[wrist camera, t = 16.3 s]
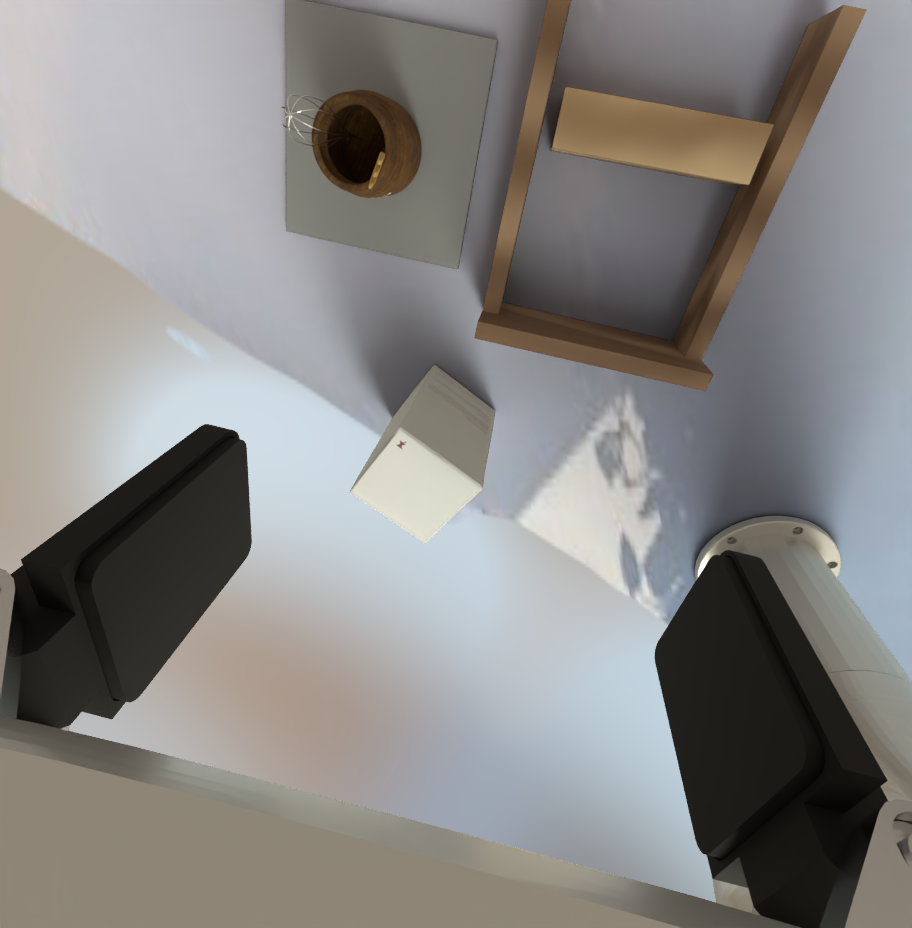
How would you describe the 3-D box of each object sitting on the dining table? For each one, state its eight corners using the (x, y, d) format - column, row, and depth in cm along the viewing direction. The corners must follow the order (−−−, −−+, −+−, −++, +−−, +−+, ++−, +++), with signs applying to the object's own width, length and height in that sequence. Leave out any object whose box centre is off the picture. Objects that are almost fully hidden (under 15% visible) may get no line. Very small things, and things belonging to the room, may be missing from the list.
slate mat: (458, 268, 39) (457, 269, 38) (289, 230, 39) (286, 231, 39) (497, 41, 31) (497, 39, 31) (289, -2, 32) (285, -4, 32)
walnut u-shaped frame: (681, 358, 40) (705, 391, 34) (484, 313, 40) (474, 338, 34) (828, 28, 29) (902, -9, 23) (556, -26, 29) (559, -76, 24)
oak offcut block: (722, 183, 34) (749, 184, 29) (551, 150, 34) (552, 147, 30) (743, 131, 32) (774, 124, 28) (562, 98, 33) (565, 86, 28)
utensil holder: (361, 78, 33) (279, 37, 23) (442, 130, 34) (398, 112, 24) (331, 168, 36) (248, 167, 26) (407, 214, 37) (355, 230, 27)
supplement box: (390, 418, 47) (344, 491, 36) (435, 361, 43) (399, 424, 32) (450, 464, 48) (424, 547, 38) (499, 412, 45) (485, 488, 34)
